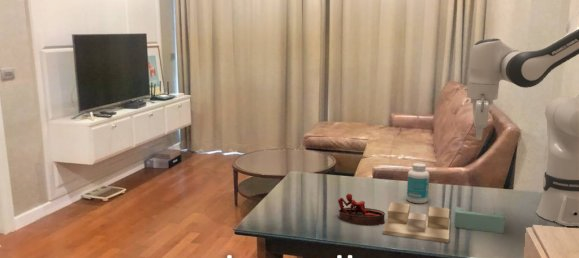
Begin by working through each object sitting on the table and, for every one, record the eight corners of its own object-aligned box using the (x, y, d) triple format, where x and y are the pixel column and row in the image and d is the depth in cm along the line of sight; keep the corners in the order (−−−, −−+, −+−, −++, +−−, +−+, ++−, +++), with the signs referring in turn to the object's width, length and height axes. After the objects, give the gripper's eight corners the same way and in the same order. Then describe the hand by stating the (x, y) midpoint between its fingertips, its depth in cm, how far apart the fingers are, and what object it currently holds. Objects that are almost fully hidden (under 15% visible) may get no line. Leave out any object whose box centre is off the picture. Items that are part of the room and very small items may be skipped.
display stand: (449, 222, 154) (450, 207, 153) (448, 243, 139) (449, 226, 138) (389, 215, 160) (390, 200, 159) (382, 234, 146) (383, 218, 145)
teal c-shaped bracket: (500, 219, 157) (501, 204, 156) (503, 233, 146) (504, 217, 145) (454, 213, 162) (455, 199, 161) (454, 227, 151) (455, 212, 150)
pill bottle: (430, 204, 170) (432, 167, 168) (409, 204, 171) (411, 167, 168) (424, 197, 178) (426, 161, 175) (404, 197, 178) (406, 161, 175)
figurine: (337, 225, 152) (337, 192, 155) (339, 227, 162) (338, 195, 164) (385, 226, 150) (384, 192, 153) (384, 227, 159) (383, 195, 162)
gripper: (495, 97, 137) (490, 144, 140) (492, 89, 156) (487, 131, 159) (471, 96, 139) (467, 142, 142) (471, 88, 158) (467, 129, 161)
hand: (478, 136), depth 151 cm, fingers open, 8 cm apart
